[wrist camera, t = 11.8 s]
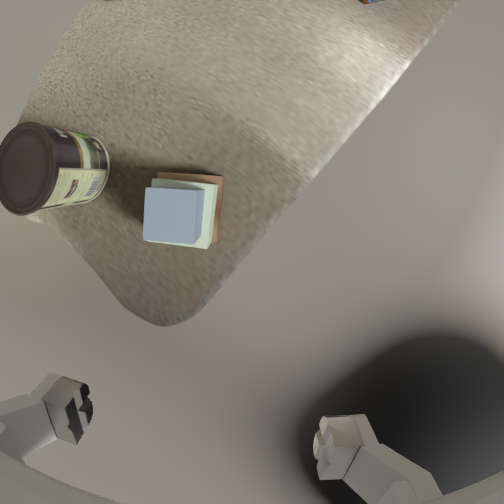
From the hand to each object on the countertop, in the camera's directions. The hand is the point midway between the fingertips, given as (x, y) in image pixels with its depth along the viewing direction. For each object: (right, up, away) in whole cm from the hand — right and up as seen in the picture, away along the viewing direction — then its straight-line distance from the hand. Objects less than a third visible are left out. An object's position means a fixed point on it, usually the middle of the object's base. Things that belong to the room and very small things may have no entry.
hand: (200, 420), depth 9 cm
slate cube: (-6, +10, +24) cm, 26 cm away
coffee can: (-23, +18, +30) cm, 42 cm away
